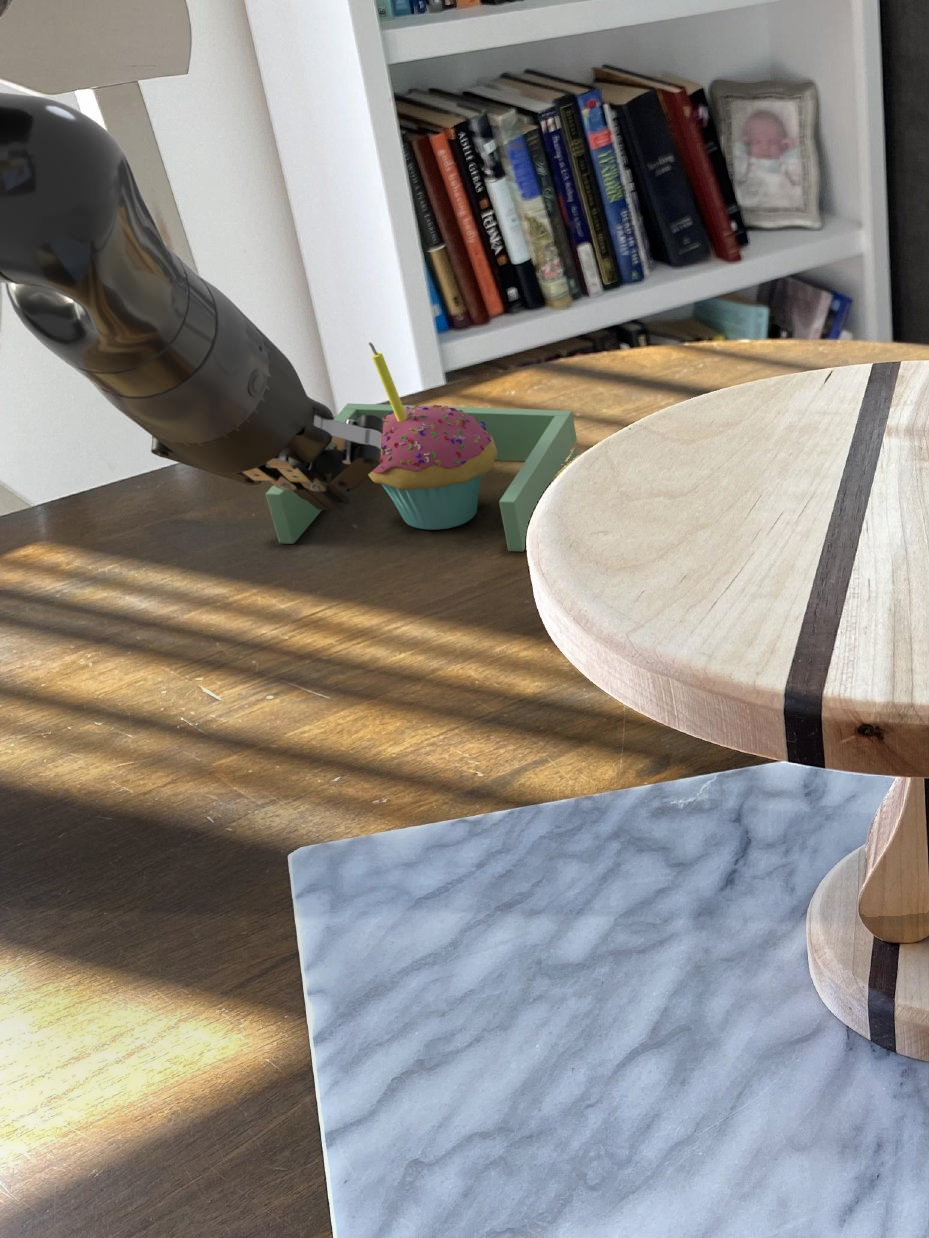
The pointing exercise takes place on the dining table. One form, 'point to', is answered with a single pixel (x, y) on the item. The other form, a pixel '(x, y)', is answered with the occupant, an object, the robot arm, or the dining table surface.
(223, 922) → the dining table surface
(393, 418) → the cupcake
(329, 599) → the dining table surface
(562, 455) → the corral
